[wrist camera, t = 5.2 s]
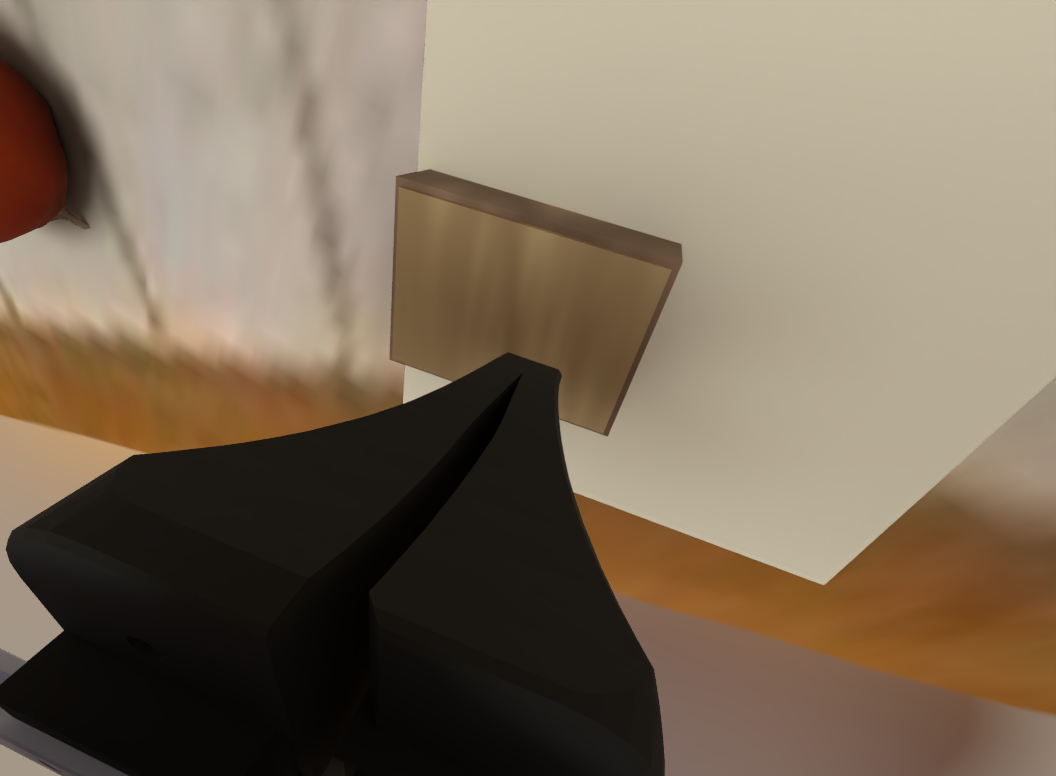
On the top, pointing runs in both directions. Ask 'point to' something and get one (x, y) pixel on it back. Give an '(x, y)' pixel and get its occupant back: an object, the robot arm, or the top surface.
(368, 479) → the robot arm
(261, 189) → the top surface
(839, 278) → the mat
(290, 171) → the top surface
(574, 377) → the walnut tile
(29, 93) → the fruit
